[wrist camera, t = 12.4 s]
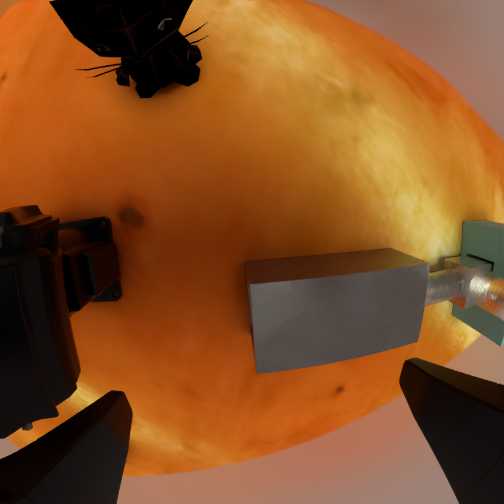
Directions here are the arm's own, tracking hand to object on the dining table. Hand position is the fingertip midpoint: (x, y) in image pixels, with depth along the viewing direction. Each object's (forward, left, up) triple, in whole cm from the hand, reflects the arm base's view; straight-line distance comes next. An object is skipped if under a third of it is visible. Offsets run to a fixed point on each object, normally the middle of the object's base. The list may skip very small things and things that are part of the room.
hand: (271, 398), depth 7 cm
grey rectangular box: (+6, -2, -13) cm, 14 cm away
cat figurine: (-5, +16, -13) cm, 21 cm away
